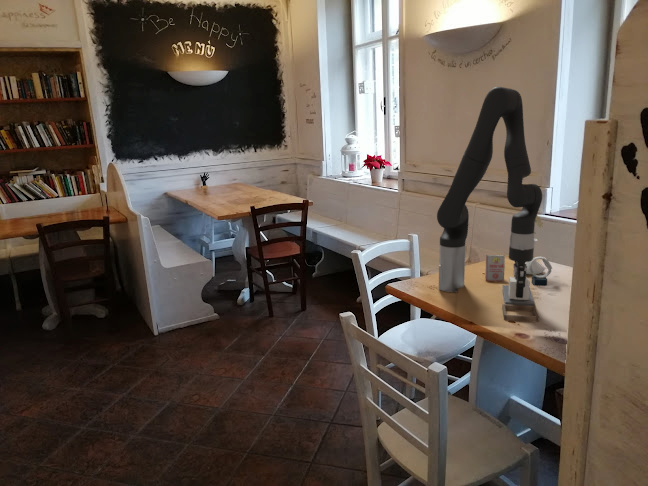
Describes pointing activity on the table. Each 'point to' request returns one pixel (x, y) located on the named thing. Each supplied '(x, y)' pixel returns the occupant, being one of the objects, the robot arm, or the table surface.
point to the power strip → (516, 302)
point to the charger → (513, 289)
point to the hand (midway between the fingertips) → (518, 294)
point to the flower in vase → (535, 265)
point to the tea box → (495, 267)
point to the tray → (520, 317)
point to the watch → (540, 279)
